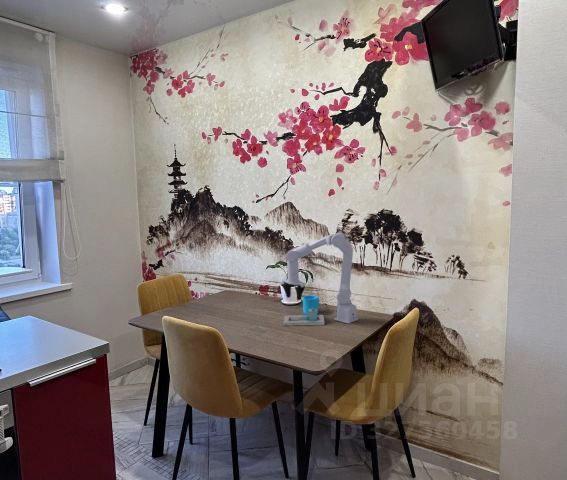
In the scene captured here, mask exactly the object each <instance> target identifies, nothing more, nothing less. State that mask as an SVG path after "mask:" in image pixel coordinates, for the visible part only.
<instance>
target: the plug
mask: <svg viewBox="0 0 567 480" xmlns="http://www.w3.org/2000/svg"><path fill="white" fill-rule="evenodd" d="M308 315H309V320H308V321H310V320H317V315H318V313H317V309H314V308H312V309H309V314H308Z"/></svg>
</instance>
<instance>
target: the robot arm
mask: <svg viewBox="0 0 567 480" xmlns="http://www.w3.org/2000/svg"><path fill="white" fill-rule="evenodd" d="M325 245H328V246H333V247H335V248H337V249H339V251H341V252H342V263H341V264H342V265H341V274H340V282H339V283H340V284H339V289H338V293H337V295H336V300H337V301H336V311H337V312H336V316H337V317H334V318H333V320H334V321H338V322H341V323H345V324H351V323H353V322H355V321H358V320H359V319H358V318H357V317H358V312H357V311H358V309H357V306H356V305H355V303H354V304H353V302H352V300H351V296H352V290H351V275H352V268H353V267H352V264H353V258H354V257H353V255H354V247H353V246H352V244H351V242H350V239H349V238H348V236H347V235H346V234H345V233H344V232H343V231H342V232H340V231H338V232H336V233H332V234H329V235H326V236H324V237H322V238H320V239H318V240H316V241H313V242H311V243H307V242H303V243H301V245H298V246H297V247H293V248H291V249H290V250H288V251H287V252H286V254H285V259H286V262H287V264H286V265H287V266H286V270H287V278H286V279H285V278H283V279H282V280H281V283H282V284H281V287H282V288H283V290H284V292H285V296H286V299H288V298H291V294H292V285H293V286H295V287H294V290H295V291H296V300H297V301H300V300H302V298H303V293H304V290H305V289H306V282H302V281H300V278H299V277H300V275H299V274H300V273H299V259H301V258H303V257H306V256H308V255H310V254H312V252H313V250H315V249H317V248H320V247H322V246H325Z"/></svg>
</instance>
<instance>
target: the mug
mask: <svg viewBox="0 0 567 480" xmlns="http://www.w3.org/2000/svg"><path fill="white" fill-rule="evenodd" d="M302 306H303V309H302V311H303V313H304V314H305V313H306V315H309V309H312V308H314V309H317V314H318V313H319V306H320V298H319V297H318V296H317V295H311V294H310V295H304V296H302Z"/></svg>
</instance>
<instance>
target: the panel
mask: <svg viewBox="0 0 567 480" xmlns="http://www.w3.org/2000/svg"><path fill="white" fill-rule="evenodd" d="M324 317H325V316H324V314H317V320H310V321H309V314H306V315H305V314H304V315H284V317H283V326H284V327H285V326H288V327H289V326H290V327H291V326H294V327H295V326H296V327H297V326H298V327H299V326H325V318H324Z"/></svg>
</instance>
